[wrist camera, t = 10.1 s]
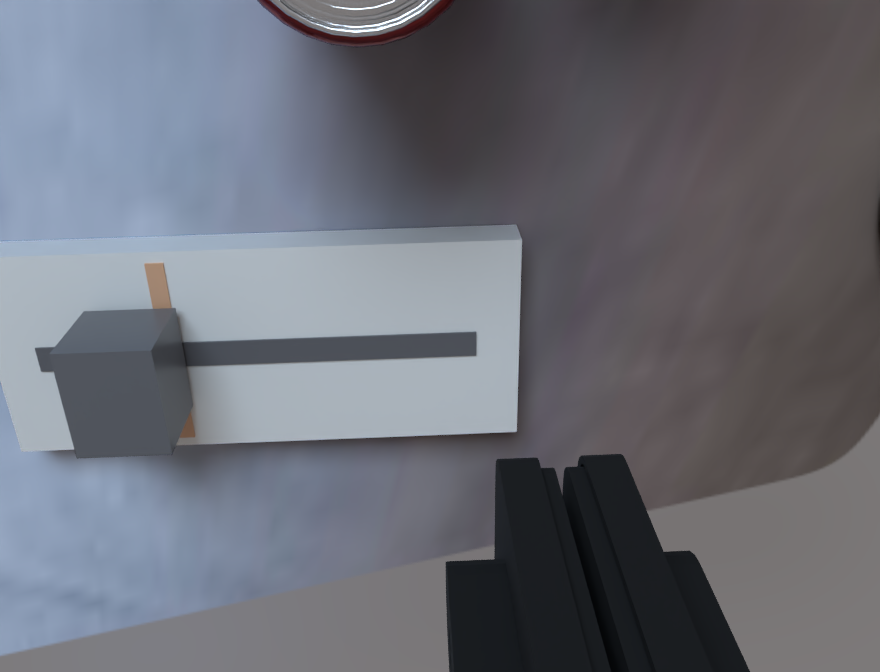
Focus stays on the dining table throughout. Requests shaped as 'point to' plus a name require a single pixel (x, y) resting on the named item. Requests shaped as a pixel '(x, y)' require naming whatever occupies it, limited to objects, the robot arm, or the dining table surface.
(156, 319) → the fader knob
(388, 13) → the soda can
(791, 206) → the dining table surface
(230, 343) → the console
